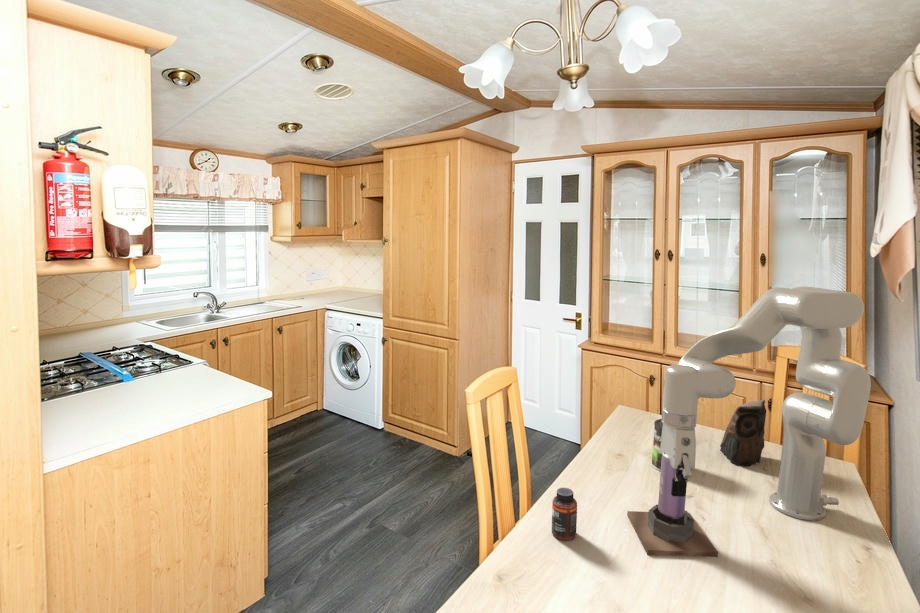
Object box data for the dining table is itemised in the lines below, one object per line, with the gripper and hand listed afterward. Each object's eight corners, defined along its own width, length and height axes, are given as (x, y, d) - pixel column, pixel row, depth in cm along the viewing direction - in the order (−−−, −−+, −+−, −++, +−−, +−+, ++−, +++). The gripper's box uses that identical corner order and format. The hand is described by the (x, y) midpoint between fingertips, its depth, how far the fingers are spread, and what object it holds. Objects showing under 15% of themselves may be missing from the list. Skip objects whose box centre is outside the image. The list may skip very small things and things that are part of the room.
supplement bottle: (577, 529, 125) (579, 487, 124) (574, 543, 120) (576, 499, 118) (553, 525, 127) (554, 483, 126) (549, 538, 122) (551, 495, 120)
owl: (761, 455, 167) (767, 397, 164) (770, 472, 156) (777, 410, 153) (719, 449, 172) (724, 393, 169) (724, 465, 160) (730, 405, 157)
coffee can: (655, 473, 154) (658, 430, 152) (648, 458, 164) (650, 417, 162) (691, 476, 153) (694, 432, 151) (681, 460, 163) (684, 419, 161)
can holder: (689, 517, 131) (690, 498, 130) (717, 556, 116) (719, 536, 115) (627, 515, 132) (628, 497, 131) (647, 554, 116) (648, 534, 115)
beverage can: (686, 521, 119) (691, 461, 117) (660, 518, 120) (664, 459, 118) (681, 507, 125) (685, 450, 123) (655, 504, 126) (659, 448, 124)
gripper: (711, 432, 110) (704, 508, 113) (680, 405, 127) (675, 472, 130) (676, 431, 111) (670, 507, 113) (650, 404, 128) (645, 471, 130)
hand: (673, 487), depth 122 cm, fingers closed on beverage can, 5 cm apart
